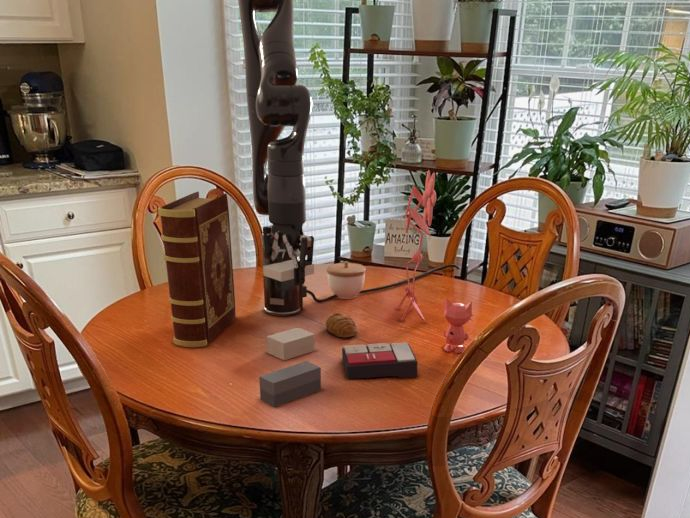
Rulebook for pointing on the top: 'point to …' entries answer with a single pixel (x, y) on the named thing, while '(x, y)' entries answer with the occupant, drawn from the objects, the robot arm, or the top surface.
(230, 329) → the top surface
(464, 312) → the cat figurine
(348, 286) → the trinket box
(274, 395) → the gray sharpening stone
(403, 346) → the grey and red box
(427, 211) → the figurine
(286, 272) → the beige flat block
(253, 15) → the robot arm
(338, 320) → the pastry
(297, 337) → the light gray block
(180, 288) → the decorative book
